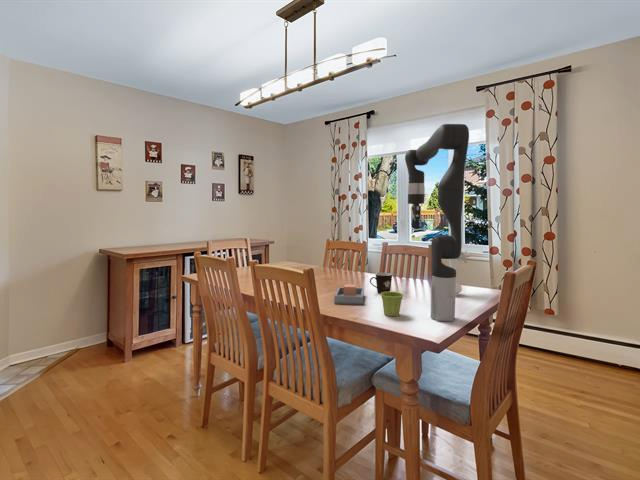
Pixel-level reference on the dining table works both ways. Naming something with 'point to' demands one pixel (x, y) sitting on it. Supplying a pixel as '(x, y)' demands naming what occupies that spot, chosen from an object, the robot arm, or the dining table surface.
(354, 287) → the terracotta block
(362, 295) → the gray tray
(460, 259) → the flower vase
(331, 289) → the dining table surface
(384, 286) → the coffee mug
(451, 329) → the dining table surface
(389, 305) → the plant pot
